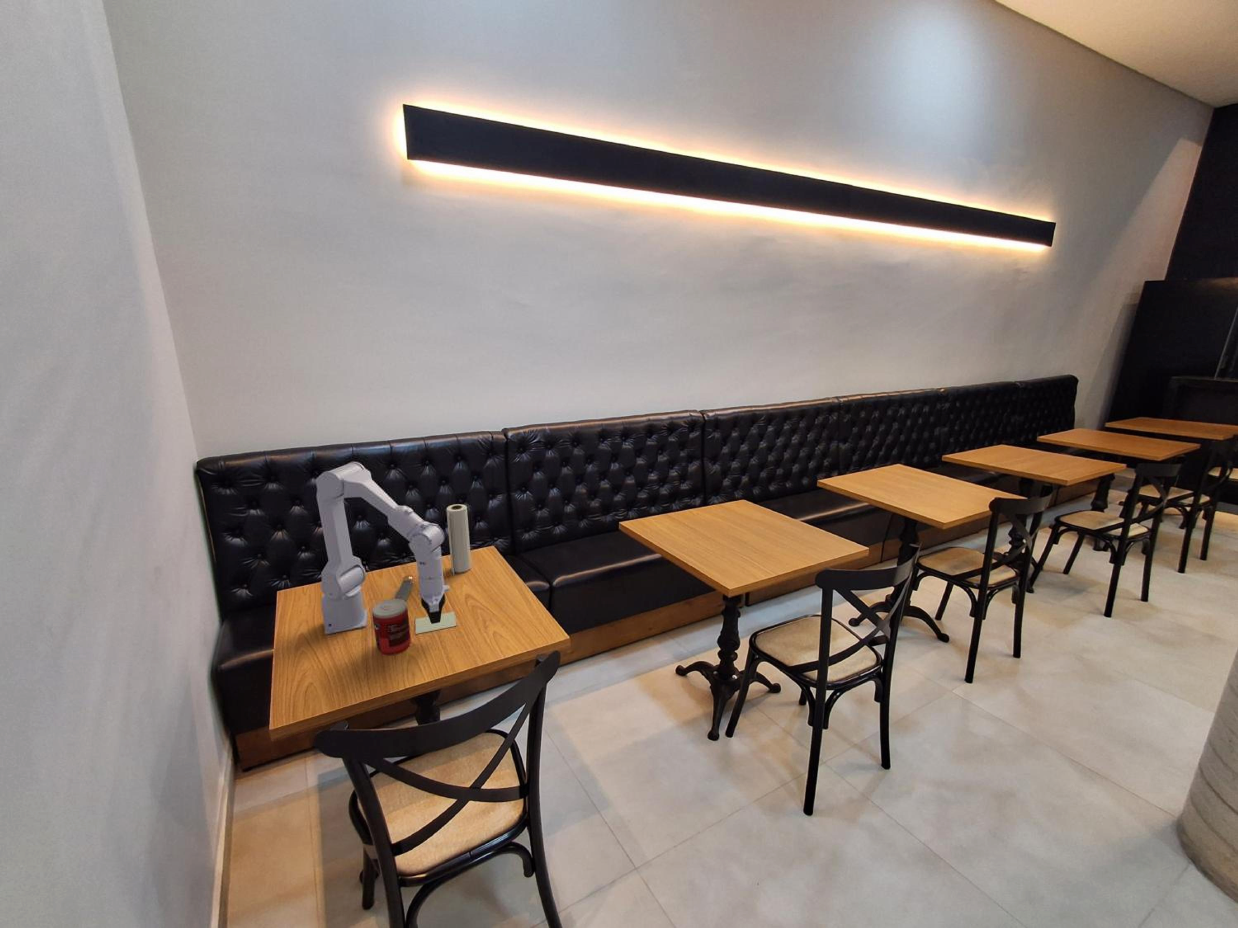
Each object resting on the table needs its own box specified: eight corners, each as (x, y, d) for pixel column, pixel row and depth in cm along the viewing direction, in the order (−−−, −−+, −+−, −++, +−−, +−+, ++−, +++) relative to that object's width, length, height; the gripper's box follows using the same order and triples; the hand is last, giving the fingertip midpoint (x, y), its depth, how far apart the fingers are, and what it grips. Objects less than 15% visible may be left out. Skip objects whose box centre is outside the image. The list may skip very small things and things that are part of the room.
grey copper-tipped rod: (398, 618, 135) (397, 607, 134) (387, 619, 134) (386, 608, 133) (415, 584, 152) (413, 573, 151) (405, 584, 152) (404, 574, 151)
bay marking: (415, 634, 130) (415, 633, 130) (415, 619, 136) (415, 619, 136) (456, 626, 134) (456, 625, 134) (454, 612, 140) (453, 611, 140)
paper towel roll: (466, 562, 168) (461, 502, 162) (474, 568, 164) (470, 507, 158) (445, 569, 163) (439, 507, 157) (453, 576, 159) (448, 513, 153)
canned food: (386, 635, 129) (380, 597, 126) (416, 636, 129) (412, 598, 126) (371, 655, 122) (365, 615, 119) (403, 656, 122) (398, 616, 119)
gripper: (450, 584, 119) (454, 634, 123) (445, 558, 132) (449, 603, 136) (418, 590, 116) (423, 640, 120) (416, 562, 129) (421, 609, 133)
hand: (435, 621), depth 128 cm, fingers closed
